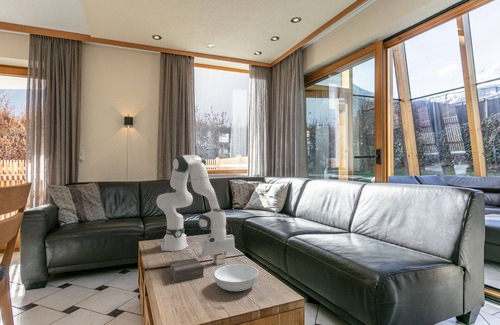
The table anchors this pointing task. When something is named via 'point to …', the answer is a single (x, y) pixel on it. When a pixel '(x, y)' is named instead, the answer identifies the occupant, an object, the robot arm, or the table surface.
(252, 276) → the serving bowl
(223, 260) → the birch cube
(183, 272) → the charcoal riser block
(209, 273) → the table surface
